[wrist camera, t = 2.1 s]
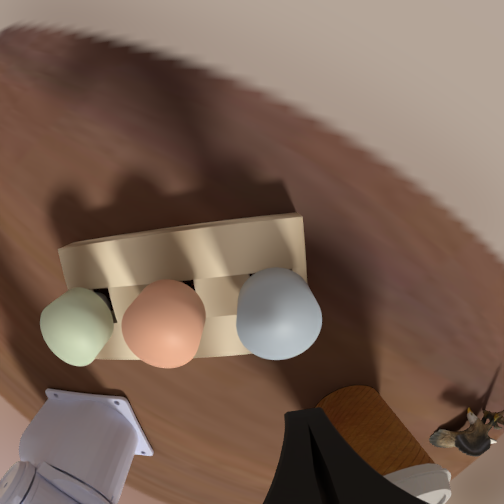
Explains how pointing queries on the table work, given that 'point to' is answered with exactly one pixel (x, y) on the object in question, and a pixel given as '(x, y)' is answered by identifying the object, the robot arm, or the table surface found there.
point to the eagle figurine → (470, 434)
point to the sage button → (77, 325)
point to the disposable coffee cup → (386, 442)
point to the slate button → (277, 314)
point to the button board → (187, 270)
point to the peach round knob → (164, 324)
